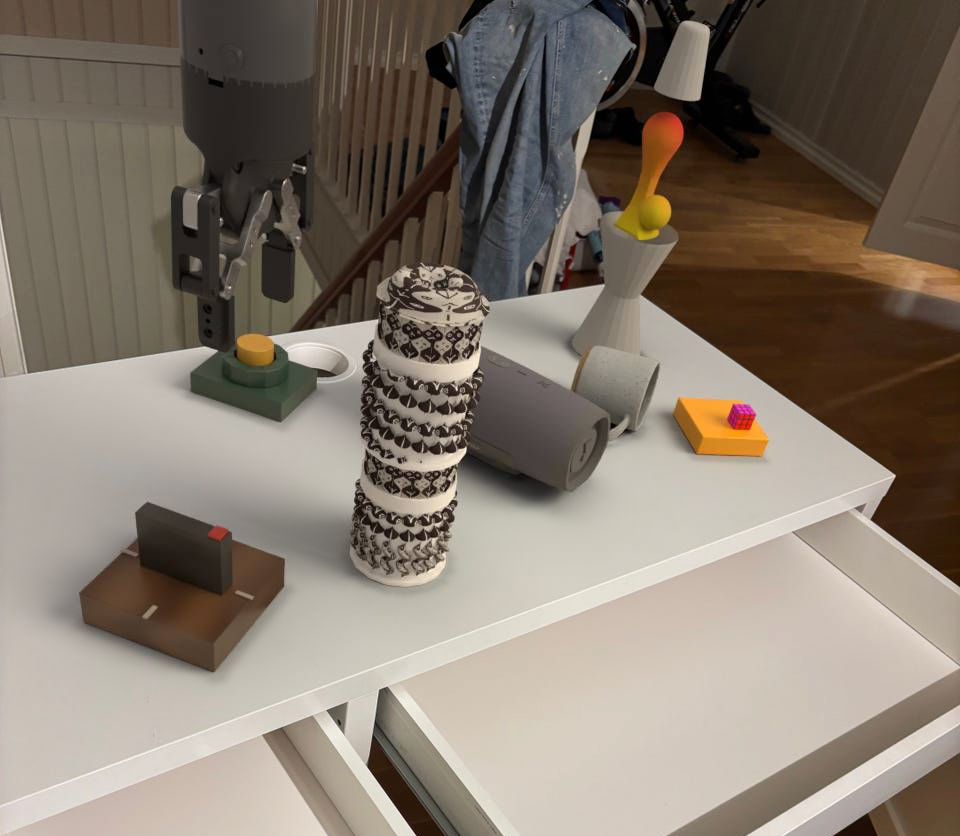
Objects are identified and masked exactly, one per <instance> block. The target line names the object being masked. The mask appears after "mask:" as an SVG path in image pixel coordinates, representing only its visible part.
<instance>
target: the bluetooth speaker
mask: <svg viewBox="0 0 960 836" xmlns="http://www.w3.org/2000/svg"><path fill="white" fill-rule="evenodd" d="M478 366H479V367H480V369H481V372H482V373H483V374H484V380H483V382H482V386H481V387H480V388H479V392H478V393H479V394H480V396H481V399H480V401H479V402H477V406H476V407H475V408H473V409H471V410H472V414H473V415H474V418H475V419H474V422H473V423H472V427H471V429H470V432H469V433H470V435H471V440H470V441H469V442H468V443H467V446H466V453H467V454H469V455H471V456H472V457H475V458H477V459H478V460H480V461H482V462H484V463H485V464H488V465H490V466H492V467H494V468H497V469H498V470H501V471H503V472H506V473H509V474H512V475H518V476H519V475H520V474H524V475H526V476H529V477H531V478H533V479H535V480H537V481H539V482H541V483H544V484H546V485H549V486H551V487H553V488H556V489H559V490H561V491H564V492H567V493H569V494H570V493H573V492H575V491H576V490H577V489H578V488H579V487H581V486H582V485H583V484H584V483H586V482H587V481H588V480H589V479H590V477H591V476H592V475H593V473H594V472H595V470H596V469H597V468H598V465H599V463H600V462H601V460H602V458H603V456H604V454H605V451H606V449H607V447H608V444H609V442H610V441H609V435H610V430H611V424H612V423H611V419H610V414H609V413H607V412H606V411H604V410H603V409H601V408H600V407H598V406H597V405H595V404H594V403H592V402H591V401H589V400H587V399H585V398H583V397H582V396H580V395H578V394H576V393H574V392H572V391H571V389H569V388H567V387H565V386H563V385H561V384H560V383H558V382H556V381H555V380H552V379H550V378H548V377H546V376H545V375H542V374H540V373H539V372H536V371H534V370H533V369H530V368H529V367H527V366H525V365H523V364H521V363H518V362H517V361H515V360H513V359H511V358H508V357H507V356H505V355H502V354H500V353H498V352H496V351H494V350H492V349H489V348H487V347H485V346H482V345H481V353H480V358H479V364H478ZM473 378H474V377H472V379H471V382H472V380H473ZM468 399H469V396H468ZM608 441H609V442H608Z"/></svg>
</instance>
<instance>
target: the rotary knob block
mask: <svg viewBox="0 0 960 836" xmlns="http://www.w3.org/2000/svg"><path fill="white" fill-rule="evenodd" d="M119 553H120V554H118V555H117V557H115V558H114V559H113V560H112V561H111V562H110V563H109V564H108V565H107V566H106V567H104V568H103V570H102V571H100V572H99V573H98V574H97V575H96V576H95V577H94V578H93V579H91V581H90V582H88V583H87V585H85V587H83V588H82V589H81V590H80V591H79V593H78V595H79V602H80V607H81V609H80V610H81V615H82V620H83V623H85V624H88V625H90V626H93V627H95V628H99V629H101V630H103V631H105V632H106V631H107V632H108V633H111V634H114V635H116V636H119V637H121V638H125V639H127V640H129V641H132V642H135V643H137V644H139V645H143V646H145V647H148V648H150V649H153V650H155V651H158V652H160V653H163V654H166V655H169V656H171V657H173V658H177V659H178V660H182V661H184V662H187V663H188V664H189V663H190V664H192V665H195V666H197V667H200V668H202V669H205V670H207V671H211V672H213V673H215V672H216V671H217V669H218V668H220V666H221V665H222V663H223V662H224V661H225V660H226V658H228V656H229V655H230V654H231V652H232V651H233V650H234V648H236V646H237V645H238V644H239V643H240V642H241V640H242V639H243V637H245V635H246V634H247V633H248V632H249V630H250V629H251V628H252V627H253V625H255V623H256V622H257V621H258V620H259V618H260V617H261V615H262V614H263V613H264V612H265V611H266V610H267V608H268V607H269V605H270V604H271V603H272V602H273V601H274V599H275V598H276V597H277V595H278V594H279V593H280V592H281V591H282V590H283V589H284V587H285V570H286V569H285V568H286V558H285V557H282V556H279V555H276V554H273V553H270V552H267V551H265V550H262V549H260V548H257V547H254V546H251V545H248V544H245V543H243V542H240V541H237V540H235V539H232V574H233V583H232V585H231V586H230V587H229V588H228V589H227V590H226V591H225V593H224V594H223V595H220V594H218V593H215V592H212V591H209V590H207V589H204V588H201V587H199V586H196V585H193V584H191V583H188V582H185V581H183V580H180V579H177V578H174V577H172V576H169V575H166V574H164V573H161V572H158V571H156V570H153V569H150V568H148V567H145V566H142V565H140V559H139V549H138V538H135V540H133V541H132V542H131V543H130V544H129V545H128V546H127V547H126V548H124V547H122V548H121V549H120V550H119Z"/></svg>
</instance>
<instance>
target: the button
mask: <svg viewBox="0 0 960 836" xmlns="http://www.w3.org/2000/svg"><path fill="white" fill-rule="evenodd" d="M236 341H237V359H238V360H239V361H240V362H242V363H245V364H248V365H254V366H264V365H268V364H271V363H272V362H273V360H274V344H275V342H274V340H272V338H270V337H268V336H267V335H264V334H259V333H247V334H243V335H240V336H239V337H238V338H237V339H236Z"/></svg>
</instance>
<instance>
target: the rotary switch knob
mask: <svg viewBox="0 0 960 836" xmlns="http://www.w3.org/2000/svg"><path fill="white" fill-rule="evenodd" d="M134 516H135V517H134V518H135V527H136V537H137V538H138V549H139V559H140V565H142V566H145V567H148V568H150V569H153V570H156V571H158V572H161V573H164V574H166V575H169V576H172V577H174V578H177V579H180V580H183V581H185V582H188V583H191V584H193V585H196V586H199V587H201V588H204V589H207V590H209V591H212V592H215V593H218V594H220V595H223V594H224V593H225V591H226V590H227V589H228V588H229V587H230V586H231V585H232V583H233V574H232V540H233V532H232V531H230V530H229V529H227V528H225V527H222V526H220V525H217V524H216V525H214V524H210V523H208V522H206V521H202V520H199V519H197V518H194V517H191V516H188V515H186V514H183V513H181V512H180V513H179V512H178V511H174V510H172V509H169V508H166V507H164V506H161V505H158V504H155V503H152V502H150V501H145V503H144V504H142V506H140V507H139V508H138V509H137V510H136V511H135V512H134ZM137 538H136V539H137Z"/></svg>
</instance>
